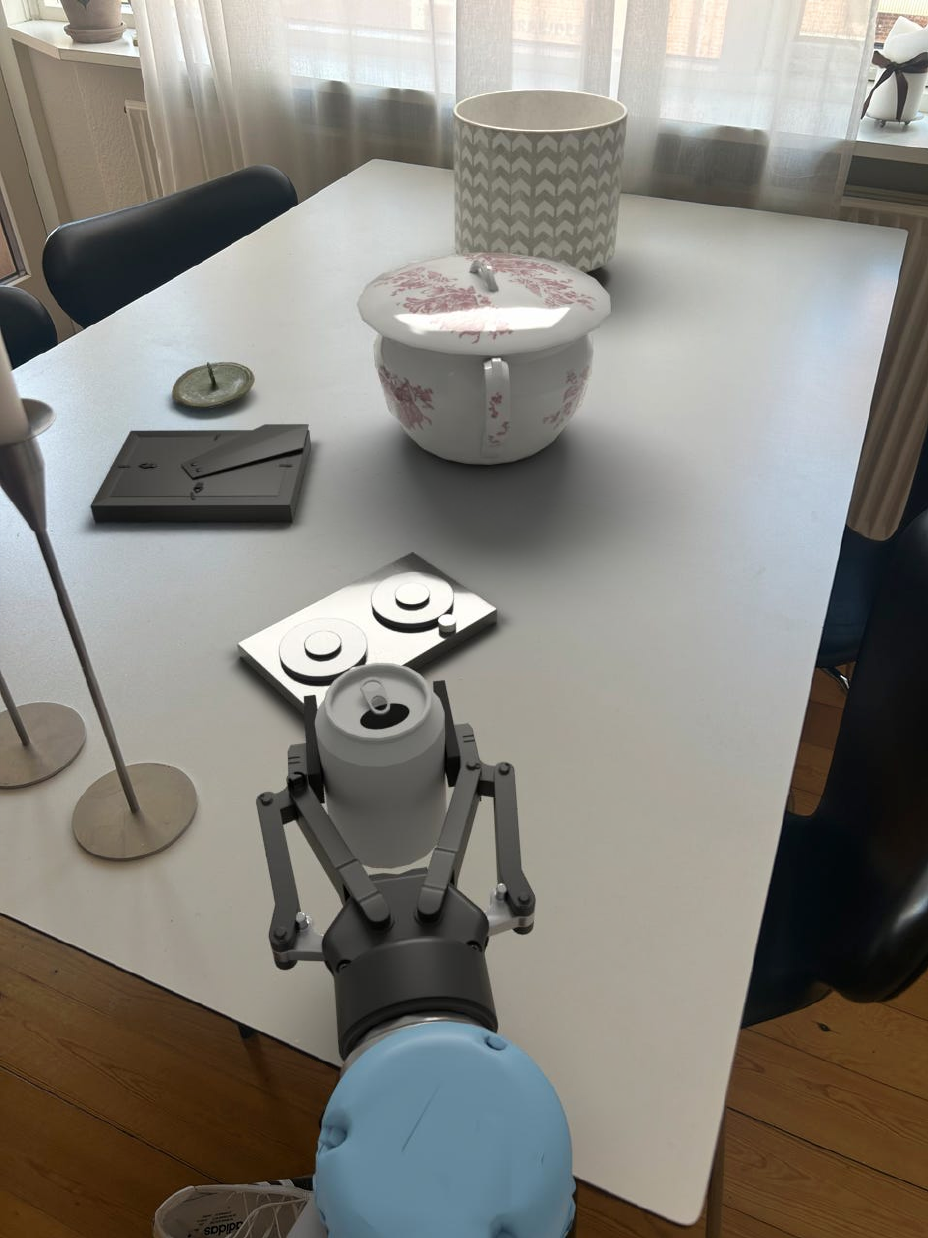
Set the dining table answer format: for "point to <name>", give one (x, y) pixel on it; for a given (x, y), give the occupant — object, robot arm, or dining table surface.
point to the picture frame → (206, 476)
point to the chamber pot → (484, 350)
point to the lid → (212, 385)
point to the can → (383, 763)
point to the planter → (539, 175)
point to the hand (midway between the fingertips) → (376, 703)
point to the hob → (367, 628)
